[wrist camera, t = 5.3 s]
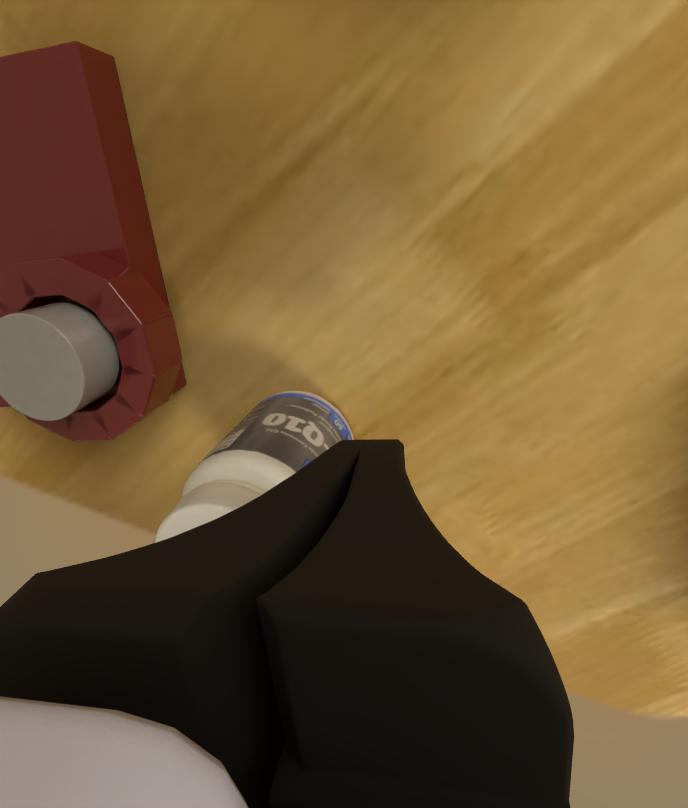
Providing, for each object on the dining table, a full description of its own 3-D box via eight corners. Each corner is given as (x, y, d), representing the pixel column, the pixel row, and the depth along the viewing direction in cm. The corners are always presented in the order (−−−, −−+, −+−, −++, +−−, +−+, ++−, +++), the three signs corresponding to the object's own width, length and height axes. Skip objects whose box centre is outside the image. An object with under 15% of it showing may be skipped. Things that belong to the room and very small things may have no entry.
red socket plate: (217, 400, 22) (170, 440, 19) (32, 407, 24) (-43, 444, 21) (146, 49, 18) (67, 11, 14) (-72, 93, 20) (-190, 70, 16)
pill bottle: (379, 440, 21) (337, 575, 14) (309, 508, 23) (238, 661, 16) (290, 364, 21) (195, 459, 13) (226, 439, 23) (111, 561, 15)
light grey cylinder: (131, 398, 19) (97, 419, 17) (45, 402, 20) (4, 422, 18) (104, 297, 18) (64, 309, 16) (14, 306, 18) (-34, 317, 17)
